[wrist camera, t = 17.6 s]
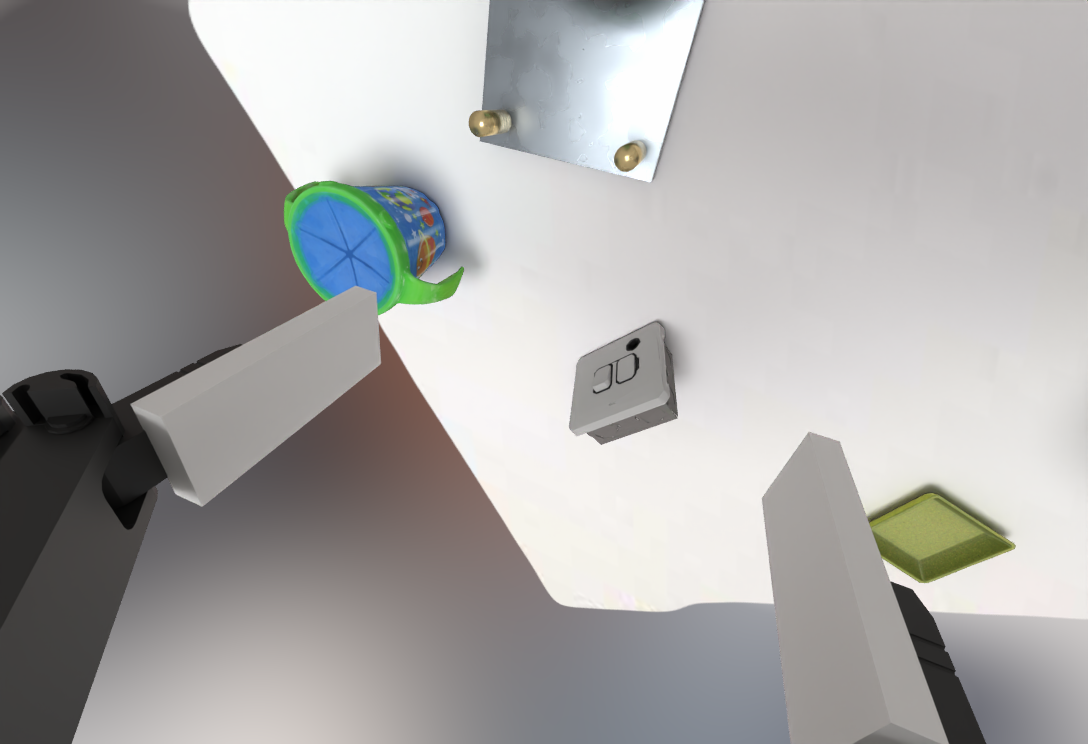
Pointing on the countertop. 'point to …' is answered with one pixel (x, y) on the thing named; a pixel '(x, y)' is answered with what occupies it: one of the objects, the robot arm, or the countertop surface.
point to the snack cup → (368, 241)
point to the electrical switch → (624, 387)
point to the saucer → (934, 538)
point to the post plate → (585, 79)
